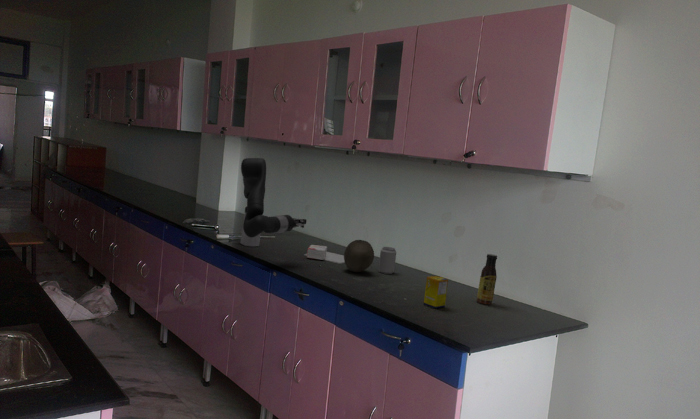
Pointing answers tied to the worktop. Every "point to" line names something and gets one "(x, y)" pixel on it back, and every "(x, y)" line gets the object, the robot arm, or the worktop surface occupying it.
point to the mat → (333, 258)
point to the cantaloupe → (358, 255)
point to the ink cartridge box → (317, 252)
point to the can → (387, 260)
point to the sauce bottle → (487, 281)
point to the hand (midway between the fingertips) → (304, 221)
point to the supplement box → (435, 291)
